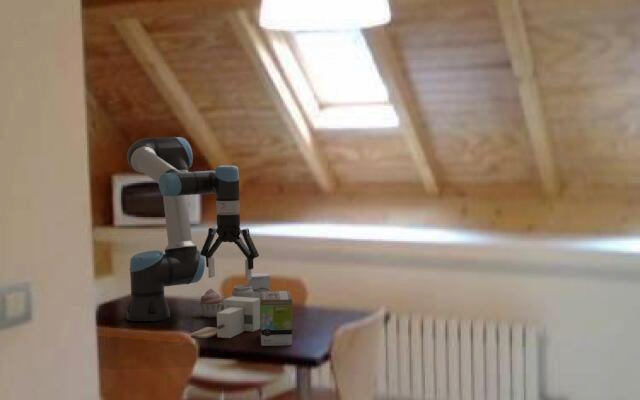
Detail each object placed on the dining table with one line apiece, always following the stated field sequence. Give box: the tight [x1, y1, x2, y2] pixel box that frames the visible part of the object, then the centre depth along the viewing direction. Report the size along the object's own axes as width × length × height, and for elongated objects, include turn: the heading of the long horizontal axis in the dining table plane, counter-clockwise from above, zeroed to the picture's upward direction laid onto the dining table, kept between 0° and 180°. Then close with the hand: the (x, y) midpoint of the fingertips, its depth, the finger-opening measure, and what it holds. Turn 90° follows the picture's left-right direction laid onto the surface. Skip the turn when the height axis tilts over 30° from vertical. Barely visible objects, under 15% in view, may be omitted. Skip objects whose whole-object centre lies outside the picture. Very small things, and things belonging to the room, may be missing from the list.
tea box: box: [259, 290, 293, 347], centre depth 290 cm, size 15×10×15 cm, turn 5°
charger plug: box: [216, 307, 245, 339], centre depth 299 cm, size 4×16×8 cm, turn 157°
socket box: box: [223, 295, 260, 333], centre depth 307 cm, size 11×6×10 cm, turn 67°
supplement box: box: [247, 272, 271, 298], centre depth 339 cm, size 7×7×13 cm
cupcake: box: [197, 288, 224, 319], centre depth 327 cm, size 9×9×10 cm
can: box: [231, 284, 254, 298], centre depth 320 cm, size 8×8×12 cm
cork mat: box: [189, 326, 217, 339], centre depth 301 cm, size 7×12×1 cm, turn 157°
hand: (229, 278), depth 298 cm, fingers open, 13 cm apart
